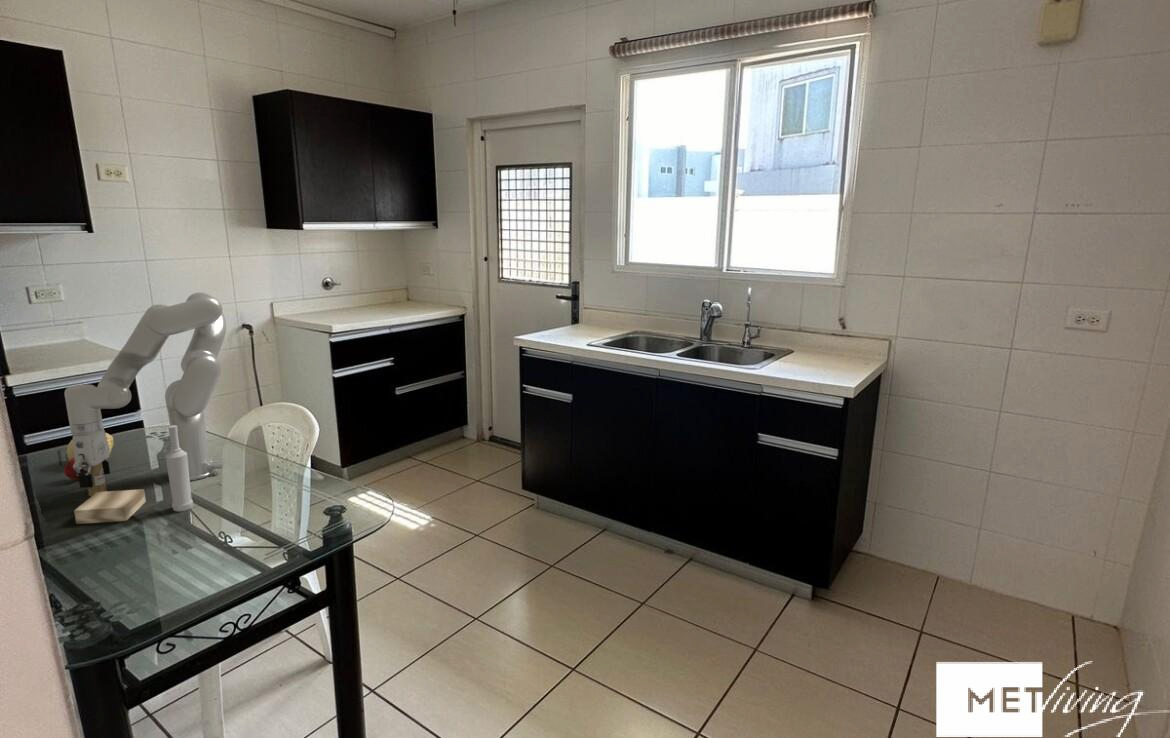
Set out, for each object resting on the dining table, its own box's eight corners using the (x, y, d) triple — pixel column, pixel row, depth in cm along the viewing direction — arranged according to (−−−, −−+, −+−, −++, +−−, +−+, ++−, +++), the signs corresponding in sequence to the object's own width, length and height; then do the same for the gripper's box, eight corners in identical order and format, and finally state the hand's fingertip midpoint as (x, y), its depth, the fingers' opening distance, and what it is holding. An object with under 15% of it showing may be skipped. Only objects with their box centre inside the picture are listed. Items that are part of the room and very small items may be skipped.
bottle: (197, 506, 182) (187, 425, 176) (180, 513, 177) (169, 430, 171) (186, 502, 184) (176, 422, 178) (168, 509, 179) (157, 427, 173)
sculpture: (96, 470, 204) (91, 439, 202) (60, 468, 204) (54, 438, 202) (122, 457, 215) (117, 427, 213) (88, 456, 215) (83, 426, 213)
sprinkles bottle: (106, 495, 187) (100, 453, 184) (87, 498, 184) (80, 456, 181) (107, 489, 190) (101, 448, 187) (89, 492, 188) (82, 451, 185)
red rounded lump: (79, 484, 193) (75, 460, 191) (61, 483, 193) (56, 459, 192) (94, 476, 199) (90, 453, 197) (76, 476, 199) (72, 452, 197)
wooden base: (145, 501, 183) (144, 489, 182) (126, 520, 172) (124, 507, 171) (99, 504, 181) (97, 491, 180) (76, 524, 169) (74, 510, 168)
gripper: (85, 435, 175) (94, 491, 179) (115, 417, 191) (123, 468, 195) (54, 437, 173) (64, 493, 177) (87, 418, 190) (96, 470, 194)
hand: (95, 480), depth 186 cm, fingers open, 9 cm apart
